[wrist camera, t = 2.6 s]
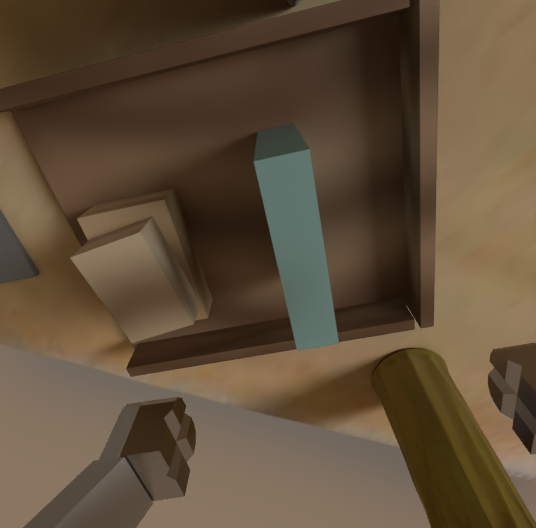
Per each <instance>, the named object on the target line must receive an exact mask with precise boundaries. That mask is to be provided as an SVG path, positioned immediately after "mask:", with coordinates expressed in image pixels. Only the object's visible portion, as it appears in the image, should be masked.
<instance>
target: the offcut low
mask: <svg viewBox="0 0 536 528" xmlns="http://www.w3.org/2000/svg"><path fill="white" fill-rule="evenodd" d="M152 216H153V218H154V220H155V221H156V223H157V225H158V227H159V229H160V230H161V232H162V234H163V236H164V238H165V239H166V241H167V243H168V245H169V247H170V248H171V250H172V252H173V254H174V256H175V257H176V259H177V261H178V263H179V265H180V266H181V268H182V270H183V272H184V274H185V275H186V277H187V279H188V281H189V283H190V284H191V286H192V288H193V290H194V291H195V293H196V295H197V297H198V299H199V300H200V305H199V308H198V312H197V315H196V319H195V320H201V319H206V318H208V316H209V312H210V308H211V303H212V299H213V298H212V296H211V293H210V290H209V287H208V284H207V281H206V278H205V276H204V273H203V270H202V267H201V264H200V261H199V258H198V256H197V253H196V250H195V247H194V244H193V241H192V238H191V236H190V233H189V230H188V227H187V224H186V221H185V218H184V216H183V213H182V210H181V207H180V204H179V201H178V199H177V196H176V193H175V190H174V188H171V189H166V190H161V191H157V192H152V193H148V194H143V195H139V196H134V197H129V198H125V199H120V200H116V201H111V202H107V203H102V204H97V205H94V206H93V207H91V208H90V209H89V210H87V211H86V212H85V213H83V214H82V215H81V216H79V217H78V218H77V220H78V222H79V224H80V226H81V228H82V230H83V232H84V234H85V236H86V238H87V240H90V239H92V238H95V237H98V236H100V235H103V234H106V233H108V232H111V231H114V230H117V229H119V228H122V227H125V226H127V225H130V224H133V223H136V222H138V221H141V220H144V219H146V218H149V217H152Z"/></svg>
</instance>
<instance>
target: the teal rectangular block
mask: <svg viewBox="0 0 536 528" xmlns="http://www.w3.org/2000/svg"><path fill="white" fill-rule="evenodd" d="M254 165H255V169H256V174H257V178H258V182H259V187H260V191H261V196H262V200H263V204H264V209H265V213H266V217H267V222H268V226H269V230H270V235H271V239H272V243H273V248H274V252H275V256H276V261H277V265H278V270H279V274H280V278H281V283H282V287H283V291H284V296H285V300H286V304H287V309H288V313H289V317H290V322H291V326H292V331H293V335H294V339H295V344H296V348H297V350H301V349H307V348H313V347H319V346H325V345H331V344H337V343H339V340H338V334H337V327H336V320H335V314H334V307H333V300H332V294H331V287H330V281H329V274H328V267H327V261H326V254H325V248H324V241H323V234H322V228H321V221H320V215H319V208H318V201H317V195H316V188H315V181H314V175H313V168H312V162H311V155H310V149H309V147H308V146H307V144H306V142H305V141H304V139H303V137H302V136H301V134H300V132H299V131H298V129H297V127H296V126H295V124H294V123H292V124H288V125H283V126H279V127H275V128H270V129H266V130H262V131H258V133H257V140H256V148H255V155H254Z"/></svg>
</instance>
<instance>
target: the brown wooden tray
mask: <svg viewBox="0 0 536 528" xmlns="http://www.w3.org/2000/svg"><path fill="white" fill-rule="evenodd" d="M439 6H440V0H341V1H337V2H333V3H329V4H325V5H322V6H318V7H314V8H310V9H306V10H302V11H298V12H295V13H291V14H287V15H283V16H279V17H275V18H272V19H268V20H264V21H260V22H256V23H252V24H248V25H245V26H241V27H237V28H233V29H229V30H225V31H221V32H218V33H214V34H210V35H206V36H202V37H198V38H194V39H191V40H187V41H183V42H179V43H175V44H171V45H167V46H164V47H160V48H156V49H152V50H148V51H144V52H140V53H137V54H133V55H129V56H125V57H121V58H117V59H113V60H110V61H106V62H102V63H98V64H94V65H90V66H86V67H83V68H79V69H75V70H71V71H67V72H63V73H59V74H56V75H52V76H48V77H44V78H40V79H36V80H33V81H29V82H25V83H21V84H17V85H13V86H9V87H6V88H2V89H0V112H6V111H11V112H12V114H13V116H14V118H15V120H16V122H17V124H18V126H19V128H20V130H21V132H22V133H23V135H24V137H25V139H26V141H27V143H28V145H29V147H30V149H31V151H32V153H33V155H34V156H35V158H36V160H37V162H38V164H39V166H40V168H41V170H42V172H43V174H44V176H45V177H46V179H47V181H48V183H49V185H50V187H51V189H52V191H53V193H54V195H55V197H56V199H57V200H58V202H59V204H60V206H61V208H62V210H63V212H64V214H65V216H66V218H67V220H68V221H69V223H70V225H71V227H72V229H73V231H74V233H75V235H76V237H77V239H78V241H79V242H80V244H81V246H83V245H84V244H85V243H86V242H87V241H88V240H87V238H86V236H85V234H84V232H83V230H82V228H81V226H80V224H79V222H78V220H77V218H78V217H79V216H81V215H82V214H83V213H85V212H86V211H87V210H89V209H90V208H91V207H93V206H94V205H97V204H102V203H107V202H111V201H116V200H120V199H125V198H129V197H134V196H139V195H143V194H148V193H152V192H157V191H161V190H166V189H171V188H174V190H175V193H176V196H177V199H178V201H179V204H180V207H181V210H182V213H183V216H184V218H185V221H186V224H187V227H188V230H189V233H190V236H191V238H192V241H193V244H194V247H195V250H196V253H197V256H198V258H199V261H200V264H201V267H202V270H203V273H204V276H205V278H206V281H207V284H208V287H209V290H210V293H211V296H212V298H213V299H212V303H211V308H210V312H209V316H208V318H206V319H201V320H195V322H194V324H193V325H190V326H187V327H183V328H180V329H177V330H173V331H170V332H167V333H164V334H160V335H157V336H154V337H151V338H147V339H144V340H141V341H138V342H134V343H132V344H133V346H134V348H135V351H134V353H133V355H132V357H131V359H130V361H129V364H128V366H127V368H126V369H127V371H128V373H129V374H130V376H131V377H132V376H138V375H144V374H150V373H156V372H162V371H168V370H174V369H180V368H186V367H192V366H198V365H204V364H210V363H216V362H222V361H228V360H234V359H240V358H246V357H252V356H258V355H264V354H270V353H276V352H282V351H288V350H294V349H297V348H296V344H295V339H294V335H293V331H292V326H291V322H290V317H289V313H288V309H287V304H286V300H285V296H284V291H283V287H282V283H281V278H280V274H279V270H278V265H277V261H276V256H275V252H274V248H273V243H272V239H271V235H270V230H269V226H268V222H267V217H266V213H265V209H264V204H263V200H262V196H261V191H260V187H259V182H258V178H257V174H256V169H255V165H254V155H255V148H256V140H257V133H258V131H262V130H266V129H270V128H275V127H279V126H283V125H288V124H292V123H294V124H295V126H296V127H297V129H298V131H299V132H300V134H301V136H302V137H303V139H304V141H305V142H306V144H307V146H308V147H309V149H310V155H311V162H312V168H313V175H314V181H315V188H316V195H317V201H318V208H319V215H320V221H321V228H322V234H323V241H324V248H325V254H326V261H327V267H328V274H329V281H330V287H331V294H332V300H333V307H334V314H335V320H336V327H337V334H338V340H339V342H342V341H348V340H354V339H360V338H366V337H372V336H378V335H384V334H390V333H396V332H402V331H408V330H414V329H415V326H414V318H415V320H416V321H417V323H418V324H419V326H420V328H426V327H432V326H434V279H435V224H436V170H437V115H438V61H439ZM406 306H407V307H408V308H409V310H410V311H411V313H412V315H413V316H414V318H413V317H412V315H411V313H410V312H409V310H408V308H407V307H406Z"/></svg>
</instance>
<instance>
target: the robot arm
mask: <svg viewBox="0 0 536 528" xmlns="http://www.w3.org/2000/svg"><path fill="white" fill-rule="evenodd" d="M490 362H491V363H492V365H493V366H494V367H495V368H494V369H493V370H492V371H491V372H490V373H489V374H488V387H489V391H490V395H491V397H492V399H493V401H494V403H495V405H496V406H497V408H498V409H499V410H500V412H501V413H503V414H504V415H506V416H508V417H510V418H511V419H513V427H512V429H513V430H514V432H515V433H516V435H517V436H518V437H519V439H520V440H521V441H522V443H523V444H524V446H525V447H526V448H527V450H528V451H529V453H530V454H536V343H529V344H523V345H516V346H510V347H504V348H498V349H493V351H492V352H491V354H490ZM185 409H186V405H185V403H184V401H183V399H182V398H179V397H177V398H169V399H161V400H152V401H145V402H139V403H131V404H127V405H126V406H125V407H124V408H123V409H122V411H121V413H120V415H119V417H118V420H117V422H116V424H115V426H114V428H113V430H112V433H111V435H110V437H109V439H108V441H107V443H106V446H105V448H104V450H103V452H102V454H101V456H100V459H99V460H97V461H93V462H92V463H91V464H90V465H89V466H88V467H87V468H85V470H83V471H82V472H81V473H80V474H79V475H78V476H77V477H76V478H75V479H74V480H73V481H72V482H71V483H70V484H69V485H68V486H66V487H65V488H64V489H63V490H62V491H61V492H60V493H59V494H58V495H57V496H56V497H55V498H54V499H53V500H52V501H51V502H50V503H49V504H48V505H47V506H46V507H44V508H43V509H42V510H41V511H40V512H39V513H38V514H37V515H36V516H35V517H34V518H33V519H32V520H31V521H30V522H29V523H28V524H26V525H25V526H24V527H23V528H136V527H137V526H138V524H139V523H140V521H141V520H142V519H143V517H144V516H145V514H146V513H147V511H148V510H149V508H150V507H151V506H152V504H153V502H152V501H156V500H163V499H169V498H176V497H182V496H185V492H186V487H187V483H188V478H189V473H190V469H189V467H188V464H187V461H188V460H189V459H190V457H191V456H192V455H193V454H194V449H195V444H196V431H195V427H194V423H193V420H192V418H191V417H190V416H188V415H187V414H185V413H184V412H185Z"/></svg>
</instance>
